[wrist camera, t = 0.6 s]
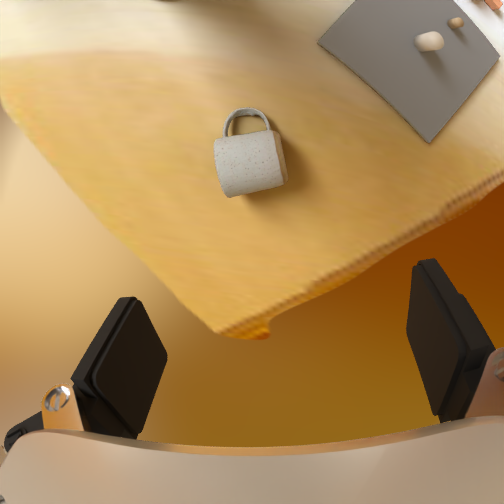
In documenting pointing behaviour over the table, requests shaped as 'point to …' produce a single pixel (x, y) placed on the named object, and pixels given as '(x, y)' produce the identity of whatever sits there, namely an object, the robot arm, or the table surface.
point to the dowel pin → (455, 23)
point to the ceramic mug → (249, 158)
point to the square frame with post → (494, 4)
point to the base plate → (413, 56)
